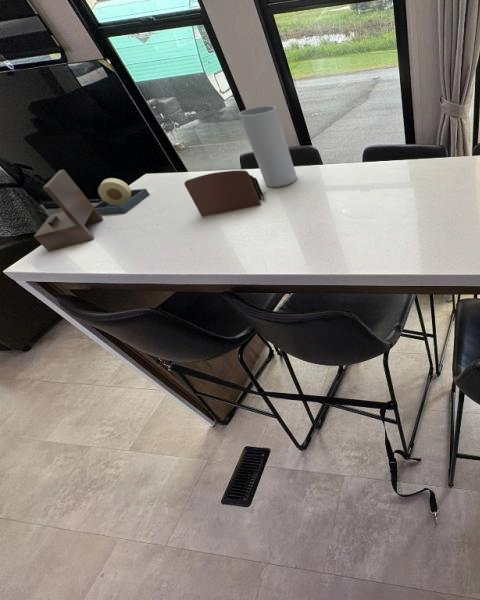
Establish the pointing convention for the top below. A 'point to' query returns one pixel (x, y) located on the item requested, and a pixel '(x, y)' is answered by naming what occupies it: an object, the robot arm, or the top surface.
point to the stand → (67, 215)
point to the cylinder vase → (269, 145)
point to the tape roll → (114, 191)
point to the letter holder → (224, 191)
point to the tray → (135, 198)
